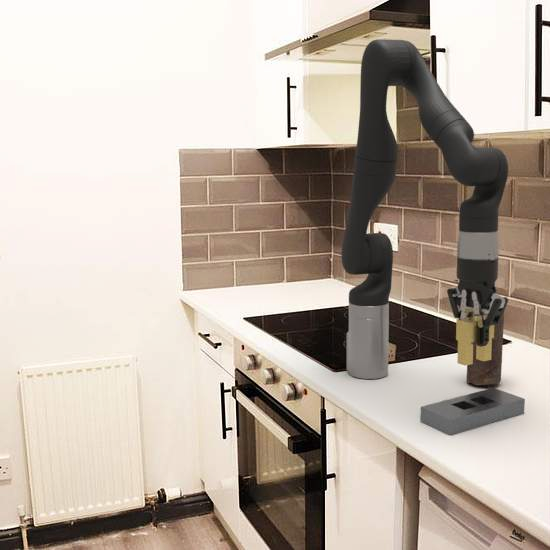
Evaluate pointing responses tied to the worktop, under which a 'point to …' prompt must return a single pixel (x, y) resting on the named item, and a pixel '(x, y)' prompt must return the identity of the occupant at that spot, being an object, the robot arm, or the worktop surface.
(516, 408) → the grey slotted base
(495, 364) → the brown cylinder
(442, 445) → the worktop surface
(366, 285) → the robot arm
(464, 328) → the yellow block
